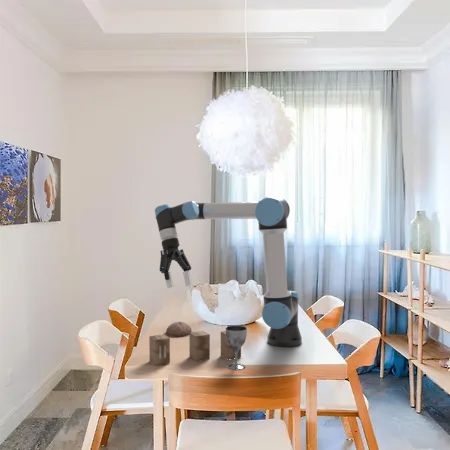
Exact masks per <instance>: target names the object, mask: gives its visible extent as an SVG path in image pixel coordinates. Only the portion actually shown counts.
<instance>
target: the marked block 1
mask: <svg viewBox="0 0 450 450" xmlns="http://www.w3.org/2000/svg"><path fill="white" fill-rule="evenodd" d="M148 342H149V362H150V363H151V362H152V363H153V364H154V365H153V364H152V363H151V364H152V365H153V366H155V367H158V366H159V367H160V366H163V365H169V364H168V363H171V344H170V343H171V341H170V337H169V336H167V335H166V334H158V335H150V336H149V341H148Z"/></svg>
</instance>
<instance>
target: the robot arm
mask: <svg viewBox="0 0 450 450" xmlns="http://www.w3.org/2000/svg"><path fill="white" fill-rule="evenodd" d="M290 208H291V207H290V204H289V203H288V202H287V200H285V198H283V197H280V196H274V195H273V196H266V197H264V198H261V199H259V200H258V201H235V202H233V201H232V202H230V201H229V202H196V201H194V200H190V201H186V202H183V203H181V204H177V205H175V206H171V205H170V204H161V205H158V206H156V207H155V209H154V214H155V215H154V216H155V219H156V224H157V228H158V233H159V237H160V240H161V247H162V249H161V250H160V251H159V252H160V260H159V262H160V263H159V272H161V274H163V275H164V280H165V283H166V288H167V289H170V288H173V287H174V282H173V278H172V272H171V271H170V268H171V265H172V262H173V261H175V262H176V263H177V264H178V265H179V267H180V268H181V269H182V274H183V279H184V282H185V283H184V284H185V287H188V286H192V285H193V284H192V279H191V274H190V271H191V270H192V266H191V264H190V262H189V260H188V258H187V257H186V256H187V255H185V252H184V249H179V247H180V241H179V238H178V236H179V235H178V232H177V228H176V225H177V224H179V223H183V222H186V221H193V220H257V223H258V231H259V232H260V233H261V234H262V241H263V255H264V268H265V272H264V273H265V281H266V282H265V283H266V284H265V285H266V291H265V293H263V308H262V311H261V317H262V320H263V322H264V323H265V324H266V325H267V327H269V331H268V334H267V343H268V344H269V345H272V346H275V347H282V348H283V347H284V348H290V347H291V348H292V346H293V347H297V345H298V346H300V345H302V342H303V341H302V333H301V331H300V328H299V299H300V298H299V294H298V292H297V291H295V290H294V291H293V290H289V289H288V280H287V279H288V277H287V266H286V265H287V262H286V250H285V249H286V247H285V232H286V231H287V229H288V222H287V221H288V220H287V219H288V218H289V216H290V210H291V209H290Z"/></svg>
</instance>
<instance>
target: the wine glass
mask: <svg viewBox="0 0 450 450" xmlns="http://www.w3.org/2000/svg"><path fill="white" fill-rule="evenodd" d="M225 331H226V339H227V342H228V344H229V345H230V347H231V348H232V349H233V351H234V354H235V359H234V363H229V364H230V365H229V364H227V365H226V368H227V370H230V371H231V370H232V371H242V370H244V369H246V365H244V364H242V363H238V358H237V355H238V351H239V349H240V348H241V349H242V347H243V346H244V345H245V343H246V340H247V332H248V331H247V326H244V325H239V324H234V325H232V324H231V325H227V326H225ZM241 364H242V365H241Z"/></svg>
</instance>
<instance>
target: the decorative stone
mask: <svg viewBox="0 0 450 450" xmlns="http://www.w3.org/2000/svg"><path fill="white" fill-rule="evenodd" d="M165 331H166V334H167V335H168V337H169V336H170V337H175V338H181V337H187V336H190V333H191V332H193V331H192V327H191V326H190V325H189V324H188V323H186V322H184V321H174V322H172V323H171V324H169V325H168V326H167V328H166V330H165ZM167 335H166V336H167Z"/></svg>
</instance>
